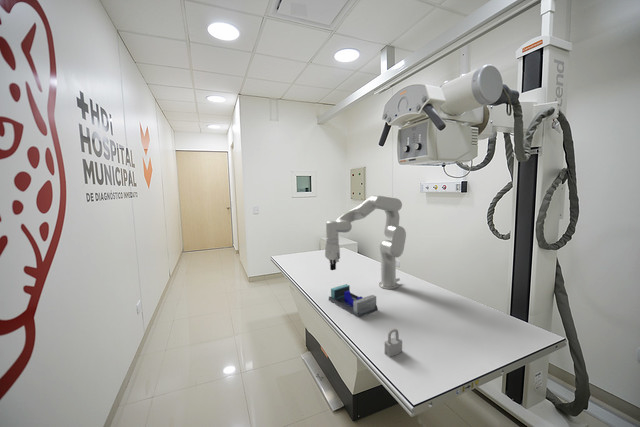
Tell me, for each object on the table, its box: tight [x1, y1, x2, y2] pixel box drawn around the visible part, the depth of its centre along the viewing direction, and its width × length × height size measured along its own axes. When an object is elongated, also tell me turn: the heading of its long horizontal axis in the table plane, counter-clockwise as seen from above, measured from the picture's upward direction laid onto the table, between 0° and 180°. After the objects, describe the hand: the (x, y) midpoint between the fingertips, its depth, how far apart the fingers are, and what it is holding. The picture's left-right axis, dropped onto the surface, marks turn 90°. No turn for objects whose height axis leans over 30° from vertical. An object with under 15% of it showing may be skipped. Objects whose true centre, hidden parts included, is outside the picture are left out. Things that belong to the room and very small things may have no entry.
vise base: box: [328, 292, 379, 318], centre depth 151 cm, size 14×27×8 cm, turn 34°
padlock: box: [383, 328, 403, 358], centre depth 107 cm, size 7×4×10 cm, turn 118°
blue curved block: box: [344, 291, 364, 306], centre depth 149 cm, size 12×4×6 cm, turn 35°
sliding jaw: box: [330, 283, 351, 299], centre depth 160 cm, size 12×3×6 cm, turn 124°
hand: (333, 269), depth 164 cm, fingers closed
